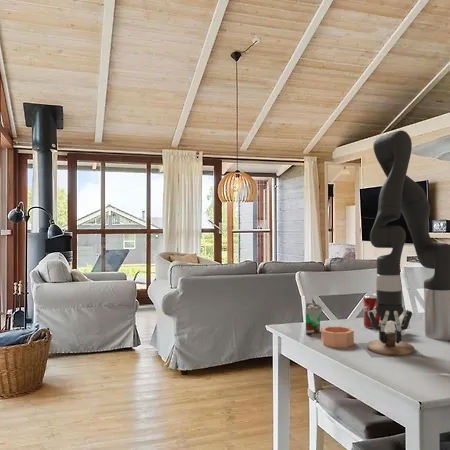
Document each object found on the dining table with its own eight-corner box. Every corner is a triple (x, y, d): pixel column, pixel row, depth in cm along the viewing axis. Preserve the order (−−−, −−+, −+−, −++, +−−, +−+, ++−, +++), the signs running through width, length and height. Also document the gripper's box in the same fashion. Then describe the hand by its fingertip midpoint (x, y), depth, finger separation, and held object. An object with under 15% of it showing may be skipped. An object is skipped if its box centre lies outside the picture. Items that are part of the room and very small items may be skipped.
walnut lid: (404, 343, 145) (404, 327, 145) (421, 355, 131) (421, 338, 131) (362, 343, 145) (361, 328, 145) (374, 356, 131) (374, 338, 131)
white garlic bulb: (395, 336, 148) (419, 336, 154) (390, 309, 151) (414, 310, 157) (376, 339, 156) (400, 339, 161) (372, 313, 159) (395, 314, 164)
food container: (323, 336, 159) (322, 308, 159) (306, 335, 160) (305, 308, 160) (322, 328, 171) (321, 302, 171) (306, 327, 172) (306, 302, 172)
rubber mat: (406, 344, 146) (406, 342, 146) (426, 358, 130) (426, 356, 130) (358, 344, 147) (358, 342, 147) (371, 358, 131) (371, 357, 131)
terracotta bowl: (349, 340, 152) (348, 326, 152) (356, 348, 142) (355, 333, 142) (320, 340, 152) (319, 326, 152) (324, 348, 142) (324, 333, 142)
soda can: (385, 326, 172) (384, 295, 172) (381, 330, 166) (380, 298, 166) (366, 324, 176) (365, 294, 176) (361, 328, 170) (361, 297, 170)
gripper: (407, 286, 142) (408, 339, 141) (363, 287, 142) (364, 339, 142) (416, 290, 134) (417, 345, 134) (369, 290, 135) (370, 346, 135)
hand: (390, 342), depth 138 cm, fingers open, 3 cm apart
